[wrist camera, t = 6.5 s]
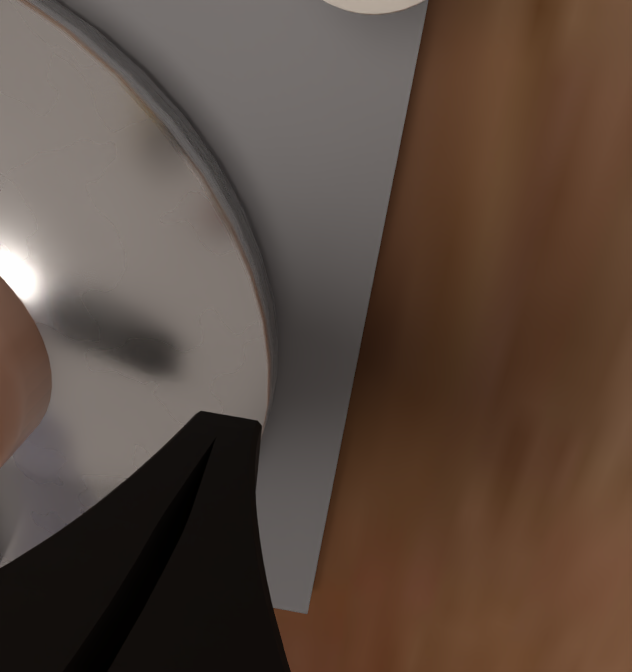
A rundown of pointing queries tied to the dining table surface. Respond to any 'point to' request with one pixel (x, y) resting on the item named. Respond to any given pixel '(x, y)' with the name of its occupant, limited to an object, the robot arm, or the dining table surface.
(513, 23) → the dining table surface
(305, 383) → the base plate
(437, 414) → the dining table surface
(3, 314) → the cover
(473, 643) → the dining table surface
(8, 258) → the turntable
